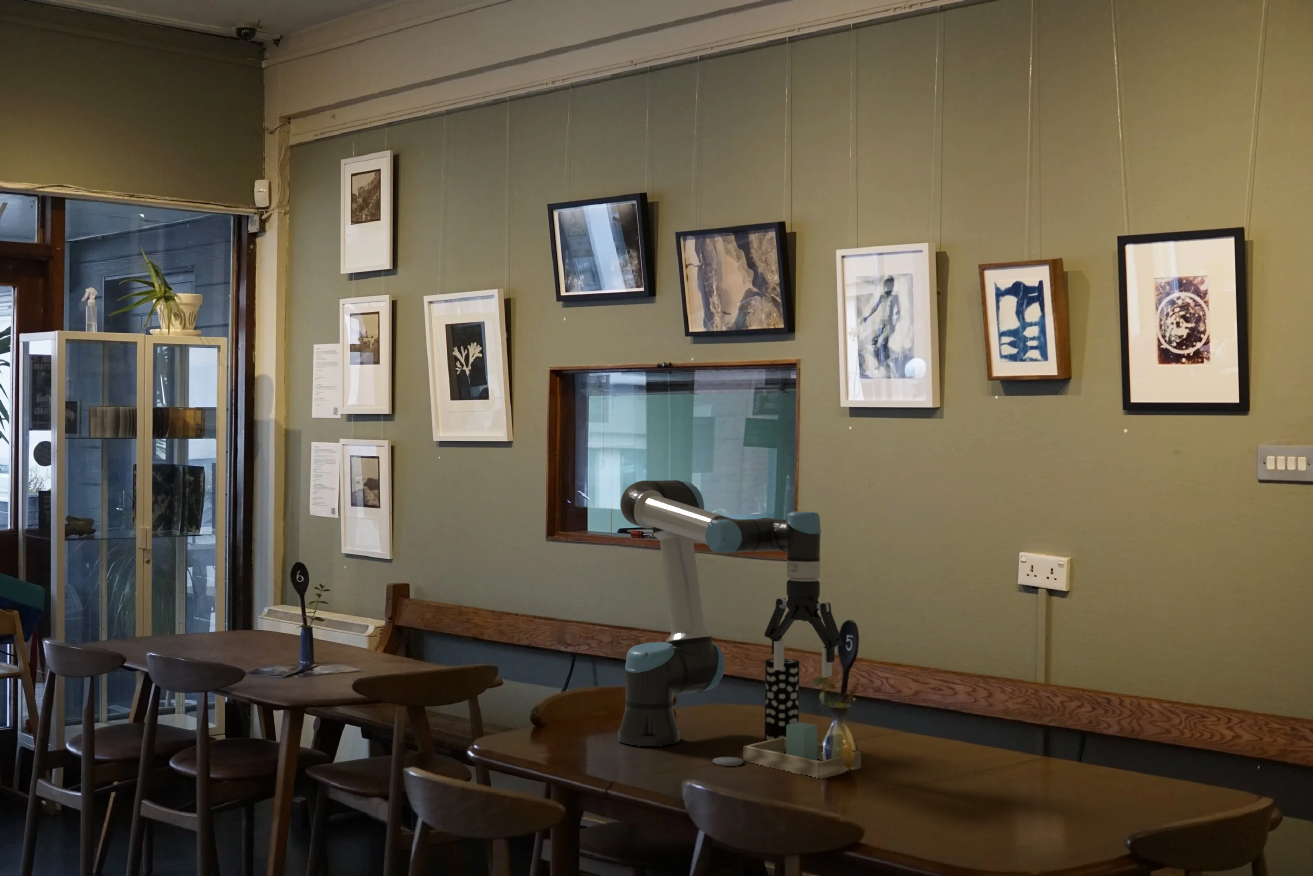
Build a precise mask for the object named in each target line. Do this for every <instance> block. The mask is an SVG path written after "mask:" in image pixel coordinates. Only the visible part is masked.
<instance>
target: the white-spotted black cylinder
mask: <svg viewBox="0 0 1313 876" xmlns="http://www.w3.org/2000/svg"><path fill="white" fill-rule="evenodd" d="M764 663H765V665H764V667H765V668H764V669H765V671H764V672H765V673H764V676H765V677H764V741H768V740H772V739H776V738H780V737H786V725H789V724H793V723H797V722H800V661H799V660H797V659H793V658H784V669H780V670H774V658H769V659H767V658H766V659H765V661H764Z"/></svg>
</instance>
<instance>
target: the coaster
mask: <svg viewBox="0 0 1313 876" xmlns="http://www.w3.org/2000/svg"><path fill="white" fill-rule="evenodd" d="M743 762H744V761H743V758H739V757H733V756H720V757H715V758H713V759H712V764H713V763H715V764H721V765H734V764H735V765H737V764H742V763H743ZM744 763H745V762H744Z"/></svg>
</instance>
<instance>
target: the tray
mask: <svg viewBox="0 0 1313 876" xmlns="http://www.w3.org/2000/svg"><path fill="white" fill-rule="evenodd" d="M823 745H824V744H822V743H818V742H817V759H820V760H822V759H823V754H822V752H823ZM742 749H743V750H742V751H743V752H742V760H746V761H747V762H751V763H755V764H759V765H758V766H760V765H763V766H762V767H764V766H766V768H769V767H771V768H770V769H773V768H775V769H774V770H778V769H779V771H782V770H785V771H784V772H787V771H790V772H789V773H791V772H792V773H791V774H796V773H797V774H796V775H800V774H803V775H802V776H805V775H808V776H807V777H809V776H812V777H811V778H814V777H816V778H815V779H818V778H820V779H819V780H823V778H824V779H827V778H831V777H834V776H837V775H841V774H844V772H845V773H847V772H846V771H847V770H848V768H847V767H846V766H845V763H844V762H843V757H835V758H831V759H828V760H824V761H820V760H817V761H816V760H811V759H807V758H802V757H797V756H792V755H788V754H786V737H780V738H776V739H772V740H768V741H765V740H764V741H759V742H757V743H756V742H755V743H751V744H747V745H744V746H743V747H742ZM855 751H856V750H855ZM784 752H785V753H784ZM751 763H750V764H751ZM755 764H754V765H755ZM861 768H862V751H858V750H857V751H856V758H855V759H854V763H853V765H852V767H851V769H852V771H855V770H858V769H861ZM854 769H855V770H854ZM830 776H831V777H830Z"/></svg>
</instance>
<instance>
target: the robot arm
mask: <svg viewBox="0 0 1313 876" xmlns="http://www.w3.org/2000/svg"><path fill="white" fill-rule="evenodd" d="M619 506H620V511H621V513H622V515H623V517H624V518H625V520H626V521H627V522H629V523H630V524H632V525H634V526H638V527H641V528H643V529H652V535H653V537H655V539H657V540H658V541H659V545H660V552H661V553H660V555H661V561H662V569H663V577H664V578H663V579H664V584H665V585H664V586H665V594H666V601H667V611H668V617H669V618H668V619H669V626H670V635H669V637H668V638H667V639H666V641H665V642H663V641H655V642H646V643H640V644H637V645H633V646H632V647H630V648H629V650H628V651H627V653H626V660H625V666H624V667H625V705H624V706H625V708H624V712H623V715H622V718H621V723H620V727H619V728H618V731H617V741H618V742H619V743H620V742H622V743H621V744H623V743H625V744H624V745H626V744H630V745H629V746H631V745H640V746H660V745H669V744H673V745H675V744H674V743H676V744H678V743H679V742H680V729H679V728H678V725H677V721H676V716H675V713H674V707H673V705H674V704H673V703H674V702H673V701H674V699H673V698H674V695H682V694H683V695H684V694H690V693H702V692H704V691H708V690H712V689H713V688H715V687H716V686H718V685H719V683H720V682H721V680H722V679H723V676H724V673H725V669H726V668H725V666H726V664H725V662H726V660H725V656H724V653H723V650H721V648H720V647H719V646H718V644H715V643H713V637H712V634H711V633H709V632H708V631H707V630H706V628H705V623H704V614H703V606H702V598H701V592H700V590H701V589H700V583H699V582H700V581H699V576H698V568H697V567H698V566H697V560H696V552H695V545H694V541H696V542H699V543H701V544H705V545H706V546H707V547H708V548H709V549H710V550H711V551H712V552H713V553H719V554H727V555H728V554H731V553H733V554H734V553H745V552H747V553H748V552H749V553H751V552H754V553H755V552H782V553H783V552H785V553H786V577H787V578H788V579H787V581H786V596H787V598H786V597H781V598H777V599H776V600H775V607H774V610H773V613H772V616H771V617H770V620H769V622H768V624H767V627H766V629H765V631H764V637H765V638H768V639H770V641H771V654H772V655H773V659H774V670H780V669H784V659H785V654H784V653H785V646H784V645H785V644H784V643H785V641H784V640H783V636H784V635H785V634H786V632H787V631H788V630H789V629H790V627H791V626H792V625H793V624H794V622H795V621H803V622H807V623H809V624H810V625H811V626H812V627H813V629H814V631H815V632H816V633H817V635H818V637H819V639H820V640H821V642H822V644H823V645H824V646H823V647H822V648H821V678H824V679H825V678H829V677H832V675H833V671H832V670H833V663H834V662H835V658H836V657H835V653H836V652H835V649H836V647H838V646H842V645H843V640H842V639H843V638H842V637H841V634H840V632H839V629H838V626H837V624H836V620H835V619H834V616H833V614H832V606H831V603H830V602H822V603H820V602H819V597H820V595H821V594H820V593H821V590H820V589H821V586H820V585H821V581H819V580H818V579H820V578H821V532H822V529H821V517H820V514H819V513H818V512H815V511H789V512H788V513H787V514H786V515H787V517H786V519H784V518H783V519H780V518H772V517H759V518H753V519H752V518H748V519H747V518H746V519H740V518H739V519H737V518H736V519H735V518H732V517H728V516H724V515H721V514H719V513H715V512H712V511H709V510H706V509H705V502H704V499H703V495H702V493H701V490H699V488H698V487H697V486H695V485H694V484H693V483H692V482H690V481H685V480H678V479H675V480H674V479H673V480H669V479H668V480H647V479H646V480H644V479H643V480H639V481H635V482H633V483H632V484H630V485H629V486H628V487H626V489H625V490H624V491H623V493H622V495H621V498H620V503H619ZM786 609H788V611H787V612H786ZM785 612H786V613H785ZM818 612H819V613H818ZM784 614H785V615H784ZM783 616H784V618H783ZM839 637H840V640H839ZM677 742H678V743H677ZM640 746H639V747H640ZM669 746H670V745H669ZM660 747H661V746H660Z"/></svg>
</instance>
